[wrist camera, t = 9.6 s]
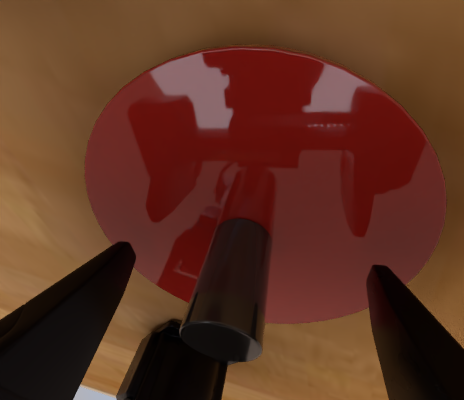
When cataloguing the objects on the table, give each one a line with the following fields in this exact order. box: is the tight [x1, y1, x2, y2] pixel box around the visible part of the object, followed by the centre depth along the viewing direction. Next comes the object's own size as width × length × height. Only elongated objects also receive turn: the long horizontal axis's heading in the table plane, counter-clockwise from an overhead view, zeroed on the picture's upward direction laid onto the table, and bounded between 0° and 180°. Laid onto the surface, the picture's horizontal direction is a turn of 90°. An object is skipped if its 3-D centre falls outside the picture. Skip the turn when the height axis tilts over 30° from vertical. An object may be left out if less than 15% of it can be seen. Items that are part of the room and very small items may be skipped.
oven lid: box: [85, 44, 447, 362], centre depth 9 cm, size 13×13×5 cm
